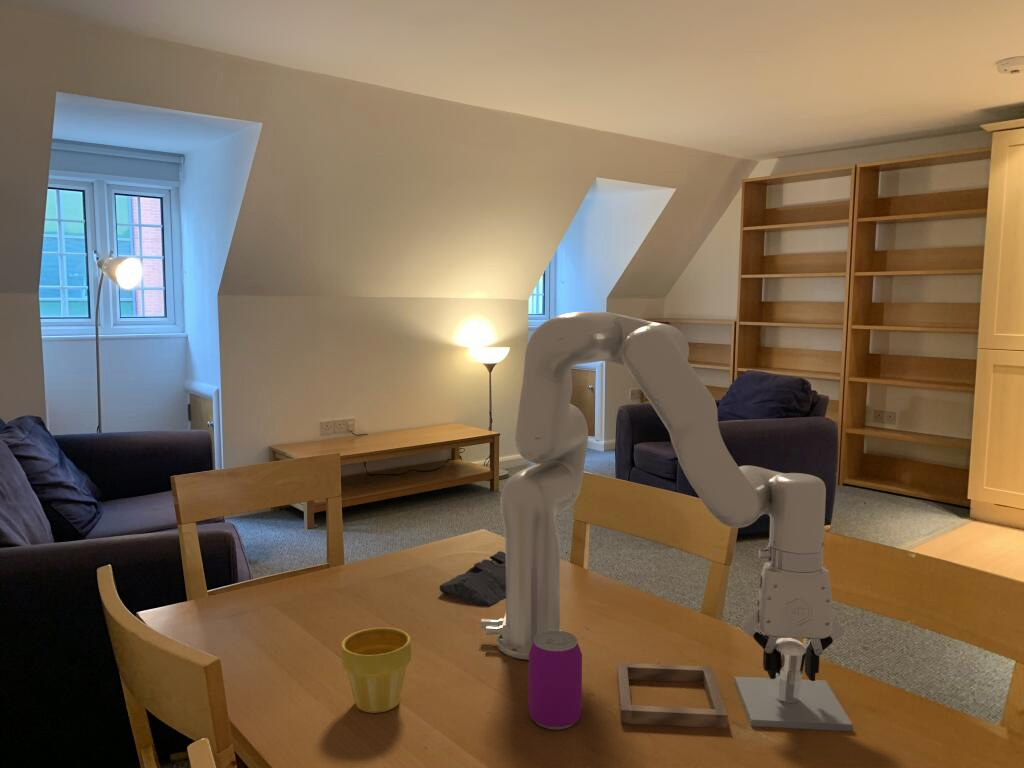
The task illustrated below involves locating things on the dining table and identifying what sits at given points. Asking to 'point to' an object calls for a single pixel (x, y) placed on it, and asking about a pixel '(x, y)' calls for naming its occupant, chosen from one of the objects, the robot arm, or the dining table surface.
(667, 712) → the walnut collar
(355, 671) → the plant pot
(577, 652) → the beverage can
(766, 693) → the slate pad
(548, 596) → the robot arm
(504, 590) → the dark slate chunk
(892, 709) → the dining table surface
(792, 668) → the milkshake
